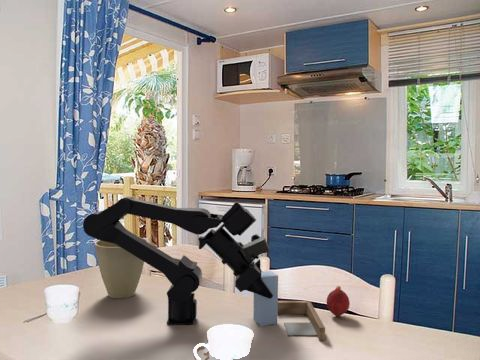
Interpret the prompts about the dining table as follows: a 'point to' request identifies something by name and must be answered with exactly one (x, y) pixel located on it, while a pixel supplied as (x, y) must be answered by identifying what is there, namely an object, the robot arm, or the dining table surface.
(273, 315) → the block
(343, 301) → the onion
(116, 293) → the plant pot
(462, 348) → the dining table surface
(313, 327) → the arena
